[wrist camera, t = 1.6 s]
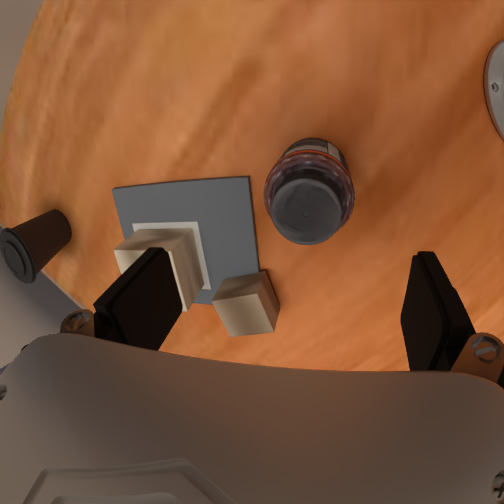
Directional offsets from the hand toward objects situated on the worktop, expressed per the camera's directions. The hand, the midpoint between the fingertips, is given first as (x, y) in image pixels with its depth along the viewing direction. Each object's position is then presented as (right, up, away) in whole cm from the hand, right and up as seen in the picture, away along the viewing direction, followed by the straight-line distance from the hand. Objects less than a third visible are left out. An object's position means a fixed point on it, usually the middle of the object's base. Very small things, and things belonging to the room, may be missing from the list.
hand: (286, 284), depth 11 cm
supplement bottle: (+4, +9, +15) cm, 18 cm away
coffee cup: (-29, +5, +26) cm, 40 cm away
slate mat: (-8, +2, +22) cm, 24 cm away
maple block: (-10, +1, +23) cm, 25 cm away
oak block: (-1, -3, +23) cm, 23 cm away
